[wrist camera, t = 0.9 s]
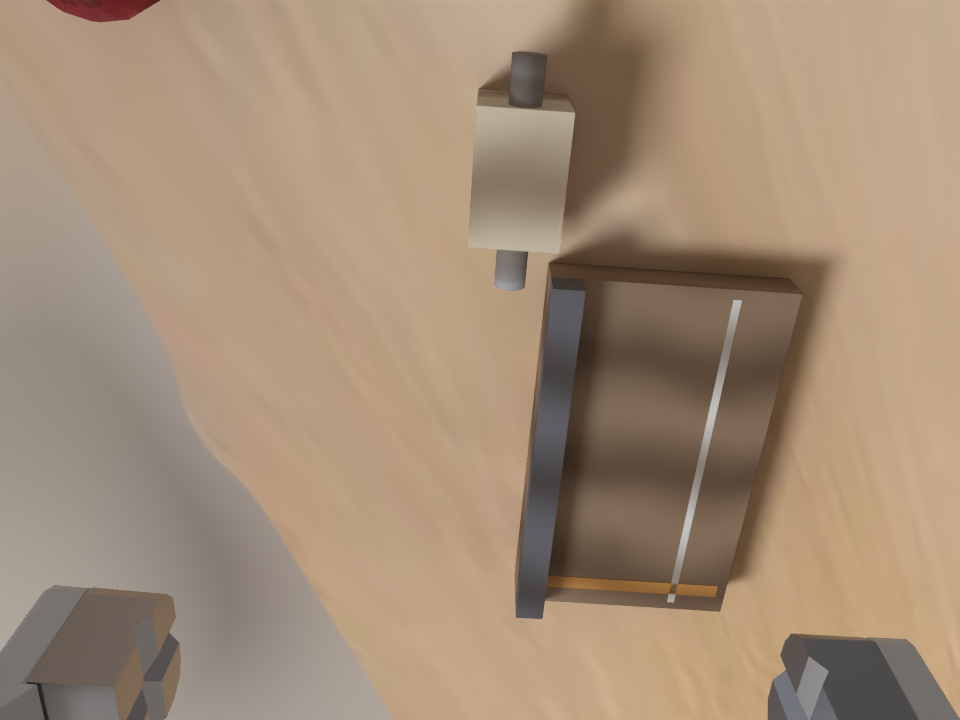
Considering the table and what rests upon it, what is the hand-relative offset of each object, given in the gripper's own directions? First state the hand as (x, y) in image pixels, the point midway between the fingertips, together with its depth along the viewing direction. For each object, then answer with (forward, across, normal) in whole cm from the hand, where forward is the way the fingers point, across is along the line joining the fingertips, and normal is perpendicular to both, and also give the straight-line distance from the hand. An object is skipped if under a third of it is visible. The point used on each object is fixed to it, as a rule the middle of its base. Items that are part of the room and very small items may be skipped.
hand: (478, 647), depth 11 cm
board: (+31, -9, +15) cm, 35 cm away
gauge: (+31, -1, 0) cm, 31 cm away
